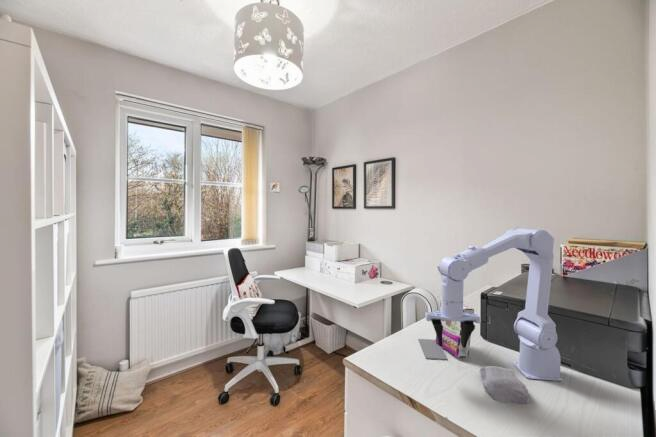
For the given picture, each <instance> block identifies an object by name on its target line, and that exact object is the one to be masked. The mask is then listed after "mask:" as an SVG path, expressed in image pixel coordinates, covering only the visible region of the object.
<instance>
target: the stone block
mask: <svg viewBox="0 0 656 437" xmlns="http://www.w3.org/2000/svg"><path fill="white" fill-rule="evenodd" d="M478 372H479V374H480V381H481V384H482V385H483V389H484V392H485V393H486V394H487V395H488V396H489V397H490V398H491V399H493V400H494V401H497V402H501V403H509V404H511V403H515V404H519V405H521V404H525V405H528V404H529V391H528V388H527V386H526V385H525V384H524V383H523V381H522V380H521V379H519V378H518V376H517V375H516V374H515V371H514V370H513V369H511V368H510V369H509V368H506V367H505V368H504V367H501V366H494V365H493V366H492V365H489V366H482V367H481V368H479V371H478Z"/></svg>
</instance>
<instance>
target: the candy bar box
mask: <svg viewBox="0 0 656 437" xmlns="http://www.w3.org/2000/svg"><path fill="white" fill-rule="evenodd" d="M439 304H440V305H439V311H441V304H442V298H440V303H439ZM463 312H464V313H470V314H475V309H474V308H472V307H470V306H468V305H465V304H463ZM441 322H442V325H443V332H442V346H441V347H442V349H443V350H444V349H445V351H448V352H449V353H450V354H452V355H453V356H455V357H456V358H457V359H458V358H469V355H470V346H471V345H470V344H471V339H472V338H471V337H472V334H471V335H470V337H469V339H468V342H467V345H466V348H463V346H462V345H461V323H460V322H458V321H441ZM435 335H436V334H435ZM435 340H436V343H437V344H438V340H437V335H436V336H435Z"/></svg>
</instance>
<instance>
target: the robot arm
mask: <svg viewBox="0 0 656 437" xmlns="http://www.w3.org/2000/svg"><path fill="white" fill-rule="evenodd" d="M554 244H555V238H554V237H553V236H552V235H551V234H550V233H549V232H548V231H547V230H545V229H534V228H533V229H531V228H530V229H529V228H522V227H518V226H517V227H514V228H511V229H509V230H506V232H504V234H503V235H500V236H499V237H497V238H495V239H494V240H492V241H490V242H489V243H486V244H485V245H483V246H478V245H469V246H468V247H467V249H466V250H463V251H462V252H459V253H458V252H457V253H455V254H453V256H446V257H443V258H442V259H441V260H440V262H439V264H438V265H437V270H438V272H439V274H440V275H441V276H440V277H441V299H442V304H441V311H440V310H439V311H438V310H437V311H425V312H424V319H425V320H426V321H427V322H431V324H432V326H433V329H434V331H435V335H437V340H438V344H439V346H442V332H443V325H442V322H441V321H458V322H460V323H461V345H462V346H463V348H466V345H467V342H468V339H469V337H470V335H471V336H472V333H473V332H474V331H475V329H476V324H481V317H480V315H479V314H478V313H477V314H476V313H474V314H470V313H464V312H463V305H464V283H465V282H464V280H465V279H467V277H468V275H469V273H471V272H473V271H475V270H476V269H478V268H481V267H482V266H485V265H487V264H488V262H489V259H490V258H491V257H494V256H495V255H496V256H497V255H498V254H501V253H503V252H506V251H508V250H510V249H516V250H518V251H520V252H522V253H523V254H524V255H525V256H526V257H527V258H528V259H529V267H528V268H529V269H528V277H527V286H526V287H527V288H526V295H525V296H526V297H525V306H524V309H523V310H521V311H519V312H517V316H516V317H517V318H516V319H515V321H514V324H513V330H514V332H515V334H517V337H518V339H519V359H518V361H513V362H512V364H513V365H514V367H516V369H517V370H518V371H519V372H520V373H521V375H523V376H524V377H525V378H526V379H530V380H547V381H559V382H560V381H562V380H563V379H562V378H561V360H562V359H561V358H562V357H561V354H560V351H559V349H558V348H557V346H556V344H557V342H558V334H557V331H556V327H557V325H556V323H555V322H554V320H553V319H552V318H551V317H550V316H549V314H548V312H549V305H550V294H551V293H550V292H551V287H552V286H551V283H552V277H553V269H554V268H553V266H554V257H555V256H554ZM474 323H475V324H474ZM562 382H563V381H562Z"/></svg>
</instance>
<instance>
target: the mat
mask: <svg viewBox="0 0 656 437" xmlns="http://www.w3.org/2000/svg"><path fill="white" fill-rule="evenodd" d="M417 339H418V343H419V345H420V348H421V350H422V353H423V355H424V358H425V360H437V361H439V360H441V361H449V360H448V357H447V355H446V352H444V348H443V347H441V346H439V344H437V343H436V339H430V338H417Z"/></svg>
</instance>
